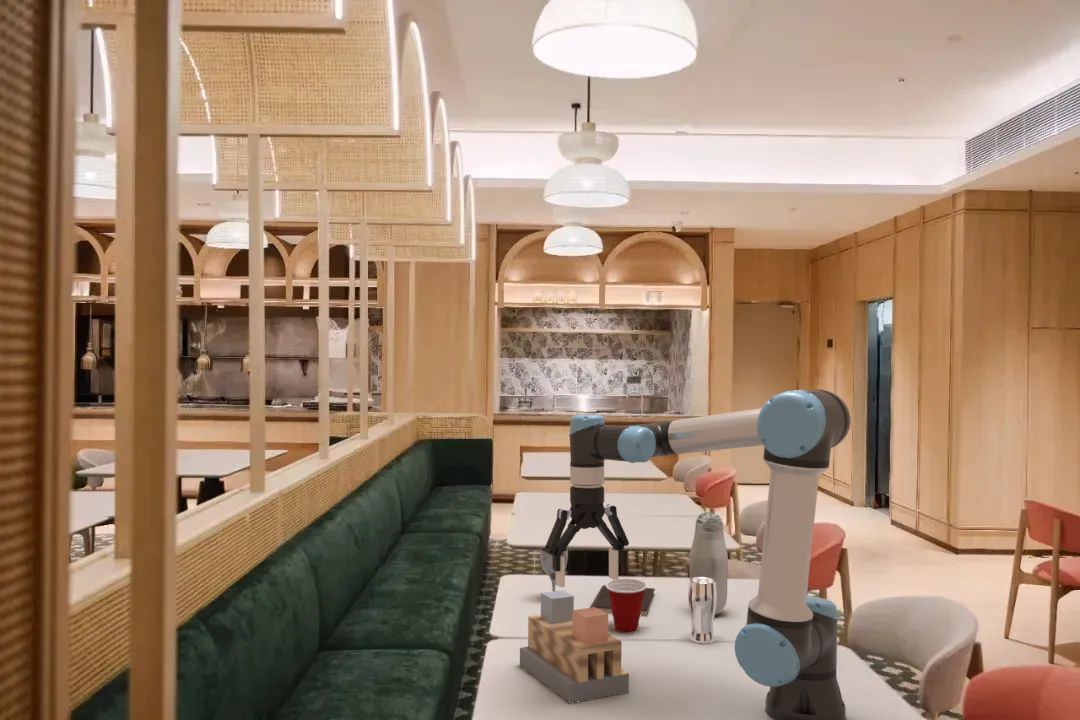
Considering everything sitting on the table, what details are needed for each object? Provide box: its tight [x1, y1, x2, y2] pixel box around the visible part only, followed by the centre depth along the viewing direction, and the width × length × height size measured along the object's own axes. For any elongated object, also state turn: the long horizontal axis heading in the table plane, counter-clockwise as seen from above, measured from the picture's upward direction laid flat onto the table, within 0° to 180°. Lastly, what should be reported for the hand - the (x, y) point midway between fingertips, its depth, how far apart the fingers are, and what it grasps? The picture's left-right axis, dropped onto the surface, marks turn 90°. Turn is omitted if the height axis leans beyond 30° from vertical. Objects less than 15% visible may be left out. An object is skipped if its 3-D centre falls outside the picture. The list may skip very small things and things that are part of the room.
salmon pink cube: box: [572, 607, 609, 644], centre depth 180 cm, size 6×6×6 cm
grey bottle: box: [689, 511, 729, 616], centre depth 236 cm, size 10×10×28 cm
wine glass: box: [539, 546, 569, 592], centre depth 247 cm, size 8×8×15 cm
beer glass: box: [687, 577, 717, 645], centre depth 214 cm, size 7×7×15 cm
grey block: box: [540, 589, 575, 624], centre depth 194 cm, size 6×6×6 cm
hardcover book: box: [589, 584, 656, 617], centre depth 246 cm, size 16×23×2 cm
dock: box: [519, 646, 630, 704], centre depth 187 cm, size 24×15×4 cm, turn 26°
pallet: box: [527, 613, 622, 683], centre depth 187 cm, size 24×10×7 cm, turn 27°
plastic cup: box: [604, 577, 648, 633], centre depth 221 cm, size 11×11×12 cm
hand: (587, 582), depth 187 cm, fingers open, 13 cm apart
